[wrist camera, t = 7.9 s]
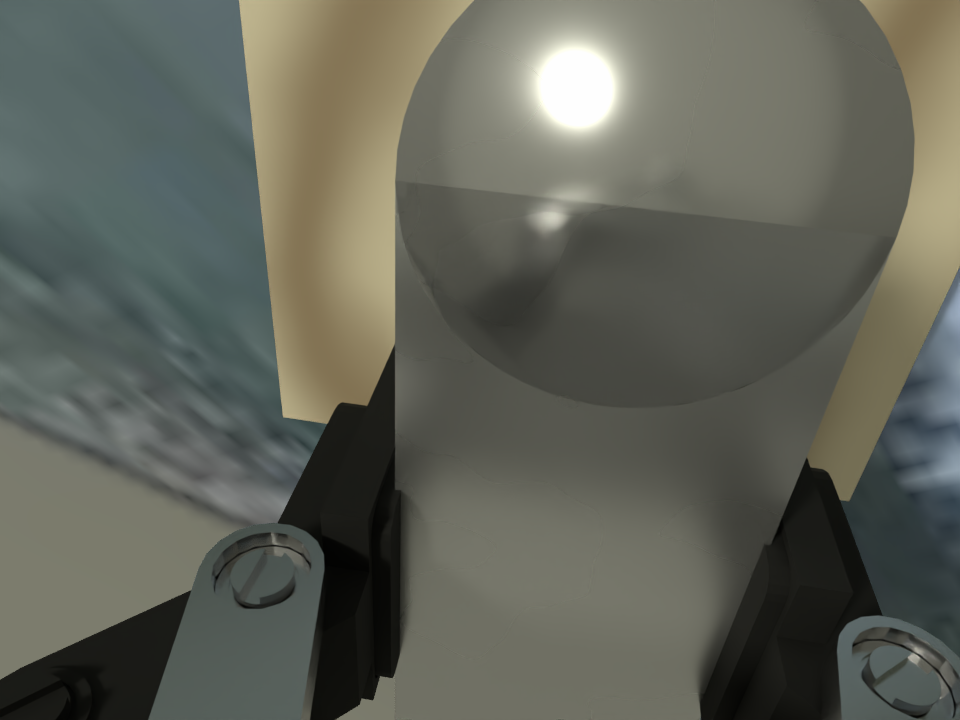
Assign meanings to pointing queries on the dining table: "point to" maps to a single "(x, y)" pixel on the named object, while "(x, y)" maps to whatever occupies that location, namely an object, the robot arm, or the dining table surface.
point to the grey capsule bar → (622, 331)
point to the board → (371, 201)
